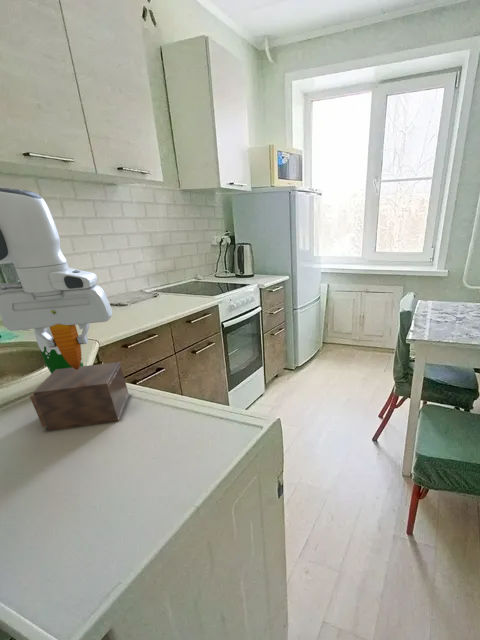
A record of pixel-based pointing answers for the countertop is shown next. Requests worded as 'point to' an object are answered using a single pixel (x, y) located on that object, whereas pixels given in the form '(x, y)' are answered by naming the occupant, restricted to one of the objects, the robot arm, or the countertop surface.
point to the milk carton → (52, 354)
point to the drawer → (38, 410)
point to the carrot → (67, 343)
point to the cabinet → (82, 396)
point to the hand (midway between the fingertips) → (69, 345)
